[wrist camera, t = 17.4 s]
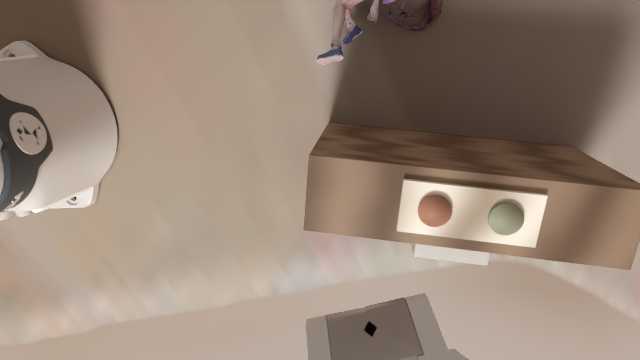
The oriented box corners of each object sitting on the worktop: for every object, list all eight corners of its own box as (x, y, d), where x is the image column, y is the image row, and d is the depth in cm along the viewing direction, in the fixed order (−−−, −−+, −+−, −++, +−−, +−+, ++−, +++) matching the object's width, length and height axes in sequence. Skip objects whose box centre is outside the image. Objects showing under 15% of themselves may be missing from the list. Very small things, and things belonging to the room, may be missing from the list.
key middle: (409, 228, 44) (413, 256, 38) (415, 183, 42) (421, 206, 37) (472, 236, 43) (487, 265, 37) (481, 191, 42) (497, 214, 36)
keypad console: (324, 178, 48) (302, 233, 35) (328, 122, 47) (307, 157, 33) (557, 204, 46) (635, 274, 32) (572, 146, 44) (661, 195, 30)
